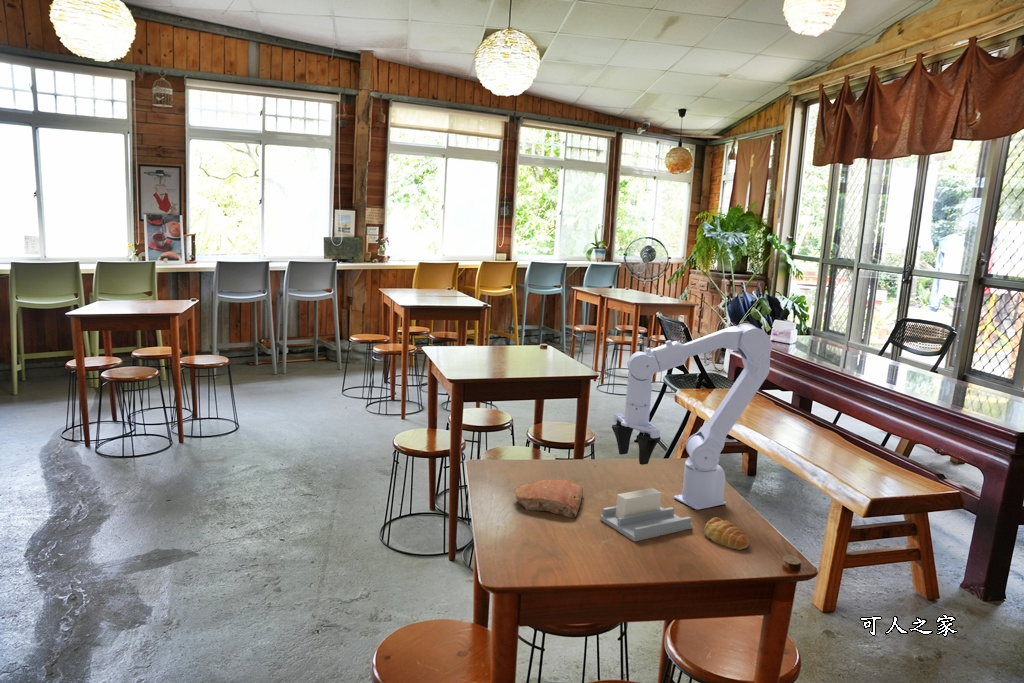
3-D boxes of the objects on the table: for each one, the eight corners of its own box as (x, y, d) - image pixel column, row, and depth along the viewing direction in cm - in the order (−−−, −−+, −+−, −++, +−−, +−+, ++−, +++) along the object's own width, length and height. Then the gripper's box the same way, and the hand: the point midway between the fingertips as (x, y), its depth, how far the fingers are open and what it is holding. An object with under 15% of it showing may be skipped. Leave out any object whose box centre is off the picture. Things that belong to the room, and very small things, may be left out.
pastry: (756, 547, 142) (758, 530, 142) (734, 555, 139) (736, 537, 138) (720, 529, 150) (722, 513, 149) (699, 536, 146) (700, 519, 146)
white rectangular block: (650, 509, 156) (652, 487, 155) (659, 514, 154) (661, 492, 153) (615, 516, 151) (617, 494, 150) (624, 521, 149) (625, 499, 148)
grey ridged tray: (656, 508, 159) (657, 498, 159) (692, 528, 149) (693, 517, 149) (600, 519, 151) (600, 508, 151) (634, 541, 141) (635, 530, 141)
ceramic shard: (525, 467, 168) (586, 483, 165) (519, 492, 168) (579, 509, 165) (514, 480, 153) (580, 498, 151) (508, 507, 154) (574, 526, 151)
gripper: (605, 397, 166) (601, 451, 168) (644, 412, 154) (639, 470, 156) (628, 395, 170) (624, 448, 172) (669, 409, 157) (663, 466, 160)
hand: (633, 458), depth 164 cm, fingers open, 7 cm apart
